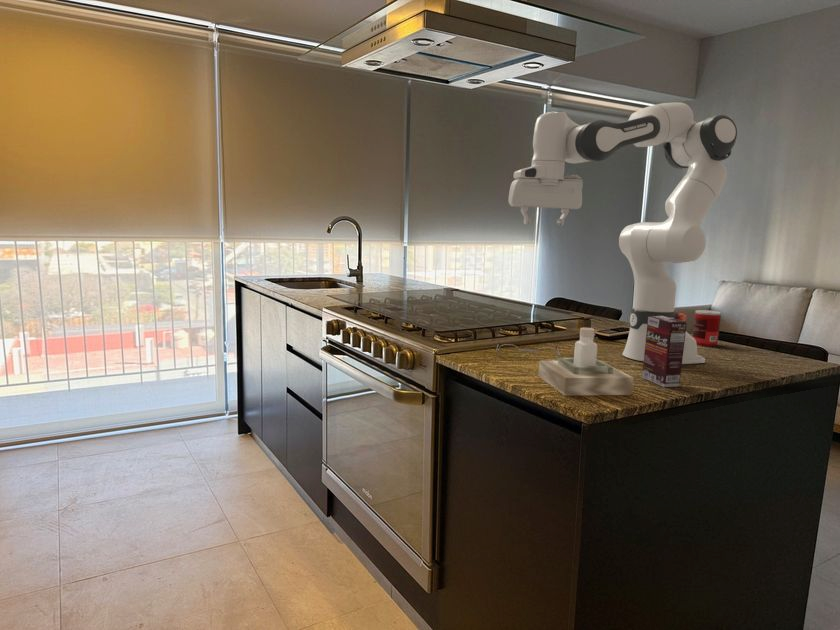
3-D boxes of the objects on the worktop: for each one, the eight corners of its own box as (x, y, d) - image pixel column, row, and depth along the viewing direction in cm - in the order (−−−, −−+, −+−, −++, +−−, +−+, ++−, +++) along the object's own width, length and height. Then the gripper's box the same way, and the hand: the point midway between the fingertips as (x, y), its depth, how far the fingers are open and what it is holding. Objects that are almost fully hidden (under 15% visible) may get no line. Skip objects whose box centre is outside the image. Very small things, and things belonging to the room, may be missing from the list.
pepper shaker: (572, 366, 137) (575, 327, 136) (587, 366, 139) (590, 327, 137) (581, 371, 134) (584, 330, 132) (596, 370, 135) (599, 330, 133)
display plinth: (599, 376, 146) (601, 354, 145) (631, 394, 130) (634, 371, 129) (538, 376, 143) (539, 354, 142) (564, 395, 128) (566, 371, 127)
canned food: (718, 343, 195) (722, 311, 193) (715, 347, 188) (719, 314, 187) (693, 340, 199) (697, 309, 197) (690, 344, 193) (693, 311, 191)
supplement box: (640, 378, 145) (646, 315, 143) (657, 377, 147) (663, 315, 144) (663, 387, 137) (670, 321, 135) (680, 387, 139) (688, 321, 136)
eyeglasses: (495, 357, 164) (495, 343, 164) (498, 346, 182) (498, 333, 182) (560, 362, 161) (561, 348, 160) (556, 350, 179) (557, 337, 179)
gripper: (578, 176, 162) (574, 226, 165) (508, 172, 159) (505, 223, 161) (588, 174, 156) (584, 226, 158) (515, 170, 153) (512, 223, 155)
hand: (543, 224), depth 160 cm, fingers open, 8 cm apart
